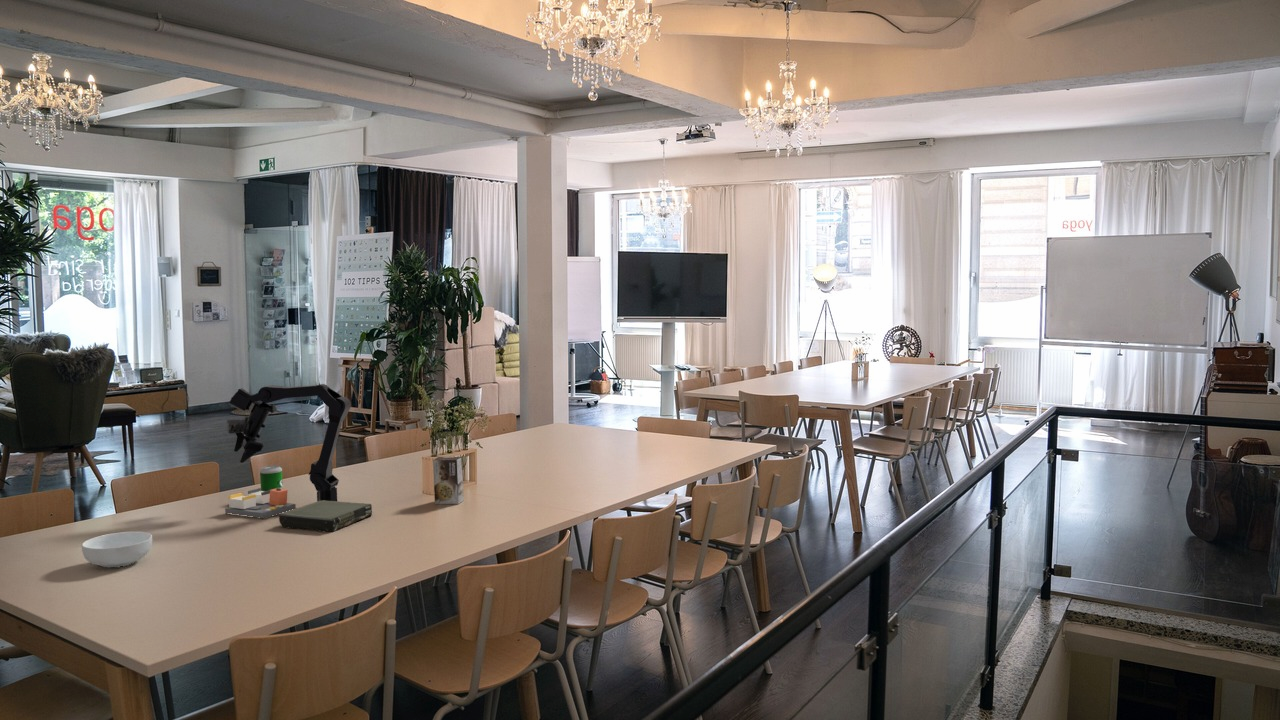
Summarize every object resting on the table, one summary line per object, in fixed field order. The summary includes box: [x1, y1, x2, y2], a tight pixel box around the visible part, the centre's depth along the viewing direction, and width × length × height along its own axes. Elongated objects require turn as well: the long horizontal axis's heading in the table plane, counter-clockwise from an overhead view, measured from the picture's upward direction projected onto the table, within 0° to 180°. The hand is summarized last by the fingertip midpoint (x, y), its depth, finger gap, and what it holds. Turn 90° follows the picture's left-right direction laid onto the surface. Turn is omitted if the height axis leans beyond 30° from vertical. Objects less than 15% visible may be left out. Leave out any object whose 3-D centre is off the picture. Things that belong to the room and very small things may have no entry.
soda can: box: [259, 465, 284, 491], centre depth 322 cm, size 8×8×12 cm
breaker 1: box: [228, 492, 256, 509], centre depth 300 cm, size 7×5×4 cm
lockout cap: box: [269, 488, 288, 506], centre depth 304 cm, size 4×4×6 cm
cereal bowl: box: [81, 531, 153, 568], centre depth 244 cm, size 17×17×7 cm
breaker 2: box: [247, 487, 270, 504], centre depth 308 cm, size 7×5×4 cm
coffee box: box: [432, 456, 464, 505], centre depth 313 cm, size 9×6×16 cm
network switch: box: [278, 500, 373, 533], centre depth 287 cm, size 23×23×5 cm
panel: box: [224, 502, 296, 519], centre depth 303 cm, size 18×14×2 cm
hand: (238, 456), depth 309 cm, fingers open, 9 cm apart
